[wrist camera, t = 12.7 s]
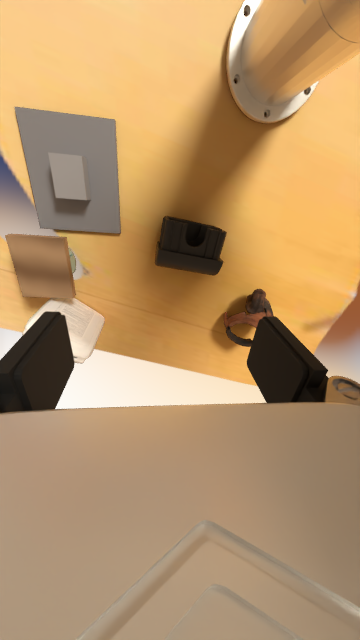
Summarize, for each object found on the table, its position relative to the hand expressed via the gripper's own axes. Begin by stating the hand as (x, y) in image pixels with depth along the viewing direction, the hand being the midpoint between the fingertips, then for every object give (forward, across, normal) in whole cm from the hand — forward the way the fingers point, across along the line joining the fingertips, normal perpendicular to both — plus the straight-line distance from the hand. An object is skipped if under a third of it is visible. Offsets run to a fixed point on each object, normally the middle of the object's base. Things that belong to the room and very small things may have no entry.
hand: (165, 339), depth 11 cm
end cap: (+31, -5, +1) cm, 31 cm away
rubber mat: (+30, +12, -7) cm, 33 cm away
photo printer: (+31, +14, +14) cm, 37 cm away
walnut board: (+26, +17, +5) cm, 32 cm away
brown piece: (+31, -19, +13) cm, 38 cm away
